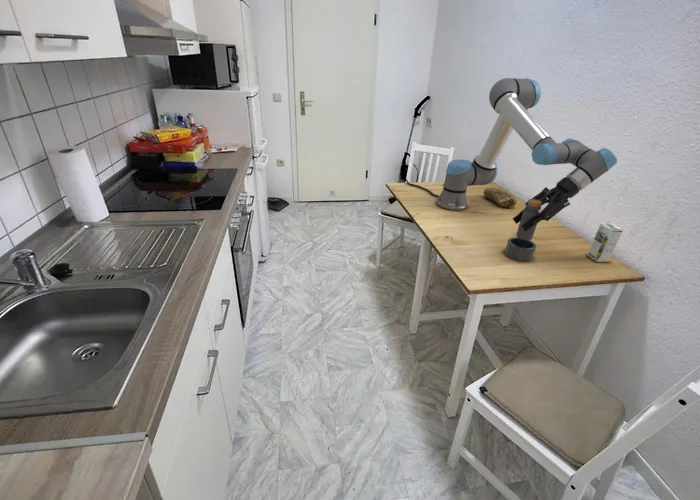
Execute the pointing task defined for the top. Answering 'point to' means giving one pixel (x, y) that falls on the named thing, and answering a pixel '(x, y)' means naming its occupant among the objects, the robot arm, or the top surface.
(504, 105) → the robot arm
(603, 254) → the syrup box
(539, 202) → the bottle
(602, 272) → the top surface
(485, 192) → the bread loaf
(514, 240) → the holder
